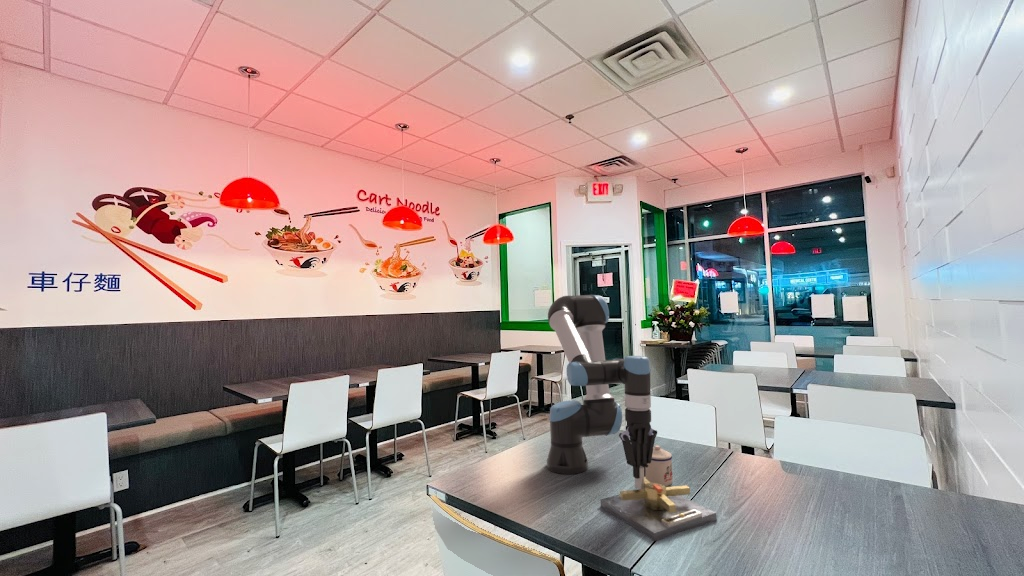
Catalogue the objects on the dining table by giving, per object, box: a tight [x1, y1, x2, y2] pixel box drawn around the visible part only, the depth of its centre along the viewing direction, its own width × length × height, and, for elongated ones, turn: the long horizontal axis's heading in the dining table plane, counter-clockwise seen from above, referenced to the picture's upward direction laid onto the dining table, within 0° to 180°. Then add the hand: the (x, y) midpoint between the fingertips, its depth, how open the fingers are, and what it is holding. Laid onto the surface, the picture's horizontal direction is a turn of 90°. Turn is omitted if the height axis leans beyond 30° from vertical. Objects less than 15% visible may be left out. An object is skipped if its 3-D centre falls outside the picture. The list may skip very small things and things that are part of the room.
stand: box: [600, 489, 717, 542], centre depth 122 cm, size 22×22×4 cm
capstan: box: [619, 477, 691, 513], centre depth 123 cm, size 20×20×6 cm
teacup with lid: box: [645, 445, 674, 487], centre depth 146 cm, size 12×9×12 cm
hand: (639, 488), depth 129 cm, fingers closed
